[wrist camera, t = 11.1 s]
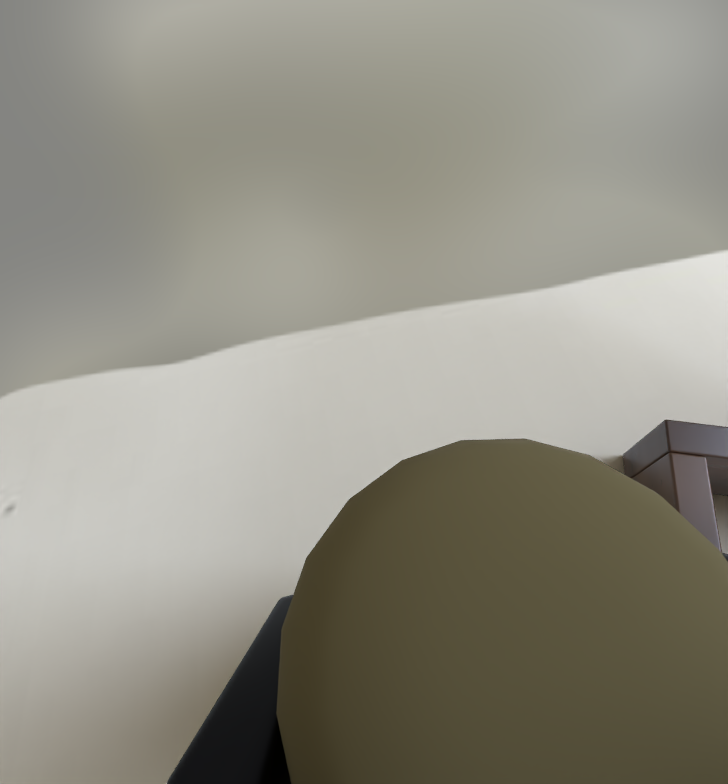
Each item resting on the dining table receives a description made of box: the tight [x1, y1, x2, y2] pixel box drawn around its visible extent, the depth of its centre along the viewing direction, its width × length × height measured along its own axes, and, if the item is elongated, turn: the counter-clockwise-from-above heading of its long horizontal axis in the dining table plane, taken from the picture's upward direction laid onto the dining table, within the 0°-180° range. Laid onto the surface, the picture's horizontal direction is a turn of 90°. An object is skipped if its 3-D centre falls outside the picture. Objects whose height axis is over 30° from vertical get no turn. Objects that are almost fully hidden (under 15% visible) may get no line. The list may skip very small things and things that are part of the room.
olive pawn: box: [276, 439, 728, 784], centre depth 9 cm, size 6×6×11 cm
